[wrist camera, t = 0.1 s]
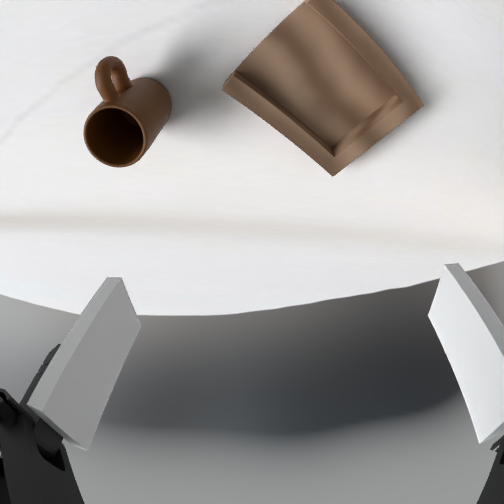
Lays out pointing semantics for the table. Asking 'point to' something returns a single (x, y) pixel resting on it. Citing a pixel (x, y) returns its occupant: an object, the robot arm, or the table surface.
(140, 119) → the mug
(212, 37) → the table surface
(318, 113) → the u rest
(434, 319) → the robot arm
